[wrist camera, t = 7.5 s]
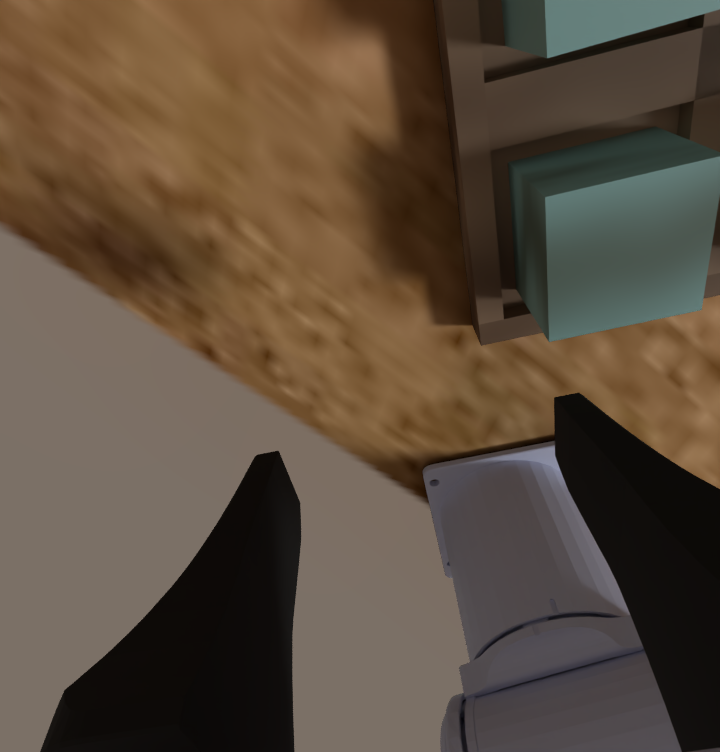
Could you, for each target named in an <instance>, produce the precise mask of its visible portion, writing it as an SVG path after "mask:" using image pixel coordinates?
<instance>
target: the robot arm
mask: <svg viewBox="0 0 720 752" xmlns="http://www.w3.org/2000/svg"><path fill="white" fill-rule="evenodd" d="M554 415H555V441H551V442H546V443H540V444H535V445H530V446H525V447H520V448H515V449H509V450H504V451H499V452H494V453H489V454H483V455H478V456H473V457H468V458H463V459H458V460H452V461H447V462H442V463H437V464H432V465H428V466H426V467H425V468H424V469H423V478H424V483H425V487H426V491H427V496H428V500H429V505H430V509H431V513H432V518H433V523H434V527H435V531H436V536H437V540H438V545H439V549H440V554H441V558H442V562H443V567H444V572H445V575H446V576H447V577H449V578H453V583H454V587H455V592H456V597H457V602H458V607H459V611H460V616H461V620H462V626H463V631H464V635H465V640H466V645H467V650H468V654H469V659H470V662H469V663H467V664H464V665H461V666H460V667H459V669H460V675H461V680H462V685H463V691H464V693H462V694H458V695H455V696H453V697H452V698H451V699H450V701H449V703H448V706H447V709H446V714H445V717H444V719H443V722H442V726H441V738H440V739H441V740H440V742H441V752H720V489H718V488H716V487H715V486H713V485H711V484H709V483H707V482H706V481H704V480H702V479H700V478H698V477H696V476H695V475H693V474H691V473H689V472H688V471H686V470H685V469H683V468H681V467H680V466H678V465H677V464H675V463H673V462H672V461H670V460H669V459H667V458H666V457H664V456H663V455H661V454H660V453H658V452H657V451H655V450H654V449H652V448H651V447H649V446H648V445H647V444H645V443H644V442H642V441H641V440H640V439H638V438H637V437H636V436H634V435H633V434H631V433H630V432H629V431H627V430H626V429H625V428H623V427H622V426H621V425H619V424H618V423H617V422H616V421H614V420H613V419H612V418H610V417H609V416H608V415H607V414H605V413H604V412H603V411H602V410H600V409H599V408H598V407H597V406H595V405H594V404H593V403H592V402H590V401H589V400H588V399H587V398H585V397H584V396H583V395H581V394H580V393H575V394H570V395H565V396H559V397H554ZM434 479H437V480H435V481H431V480H434ZM300 545H301V515H300V501H299V499H298V497H297V494H296V492H295V489H294V487H293V484H292V482H291V480H290V477H289V475H288V472H287V470H286V468H285V465H284V463H283V461H282V458H281V455H280V453H279V451H275V452H270V453H264V454H260V455H257V456H255V458H254V460H253V461H252V463H251V465H250V467H249V469H248V471H247V472H246V474H245V476H244V478H243V480H242V481H241V483H240V485H239V487H238V489H237V491H236V492H235V494H234V496H233V498H232V499H231V501H230V503H229V505H228V506H227V508H226V509H225V511H224V513H223V514H222V516H221V518H220V520H219V521H218V523H217V525H216V526H215V527H214V529H213V530H212V532H211V534H210V535H209V537H208V538H207V540H206V541H205V543H204V544H203V546H202V547H201V549H200V550H199V552H198V553H197V554H196V556H195V557H194V559H193V560H192V561H191V563H190V564H189V565H188V567H187V568H186V570H185V571H184V572H183V573H182V575H181V576H180V577H179V578H178V580H177V581H176V582H175V583H174V585H173V586H172V587H171V588H170V589H169V590H168V591H167V593H166V594H165V595H164V596H163V597H162V598H161V599H160V600H159V602H158V603H157V604H156V605H155V606H154V607H153V608H152V610H151V611H150V612H149V613H148V614H147V615H146V616H145V617H144V618H143V619H142V620H141V621H140V622H139V623H138V624H137V625H136V626H135V627H134V628H133V629H132V630H131V631H130V632H129V634H127V635H126V636H125V637H124V638H123V639H122V640H121V641H120V642H119V643H118V644H117V645H116V646H115V647H114V648H113V649H112V650H111V651H110V652H108V653H107V654H106V655H105V656H104V657H103V658H102V659H101V660H99V661H98V662H97V663H96V664H95V665H94V666H92V667H91V668H90V669H89V670H88V671H87V672H86V673H84V674H83V675H82V676H81V677H80V678H79V679H78V680H76V681H75V682H74V683H73V684H72V685H70V686H69V687H68V688H67V689H66V690H65V691H64V693H63V695H62V698H61V700H60V702H59V705H58V707H57V709H56V712H55V714H54V717H53V719H52V722H51V725H50V727H49V730H48V733H47V736H46V738H45V741H44V743H43V746H42V749H41V751H40V752H294V728H293V691H292V690H293V689H292V630H293V616H294V605H295V596H296V586H297V575H298V566H299V556H300Z"/></svg>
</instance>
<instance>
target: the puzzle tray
mask: <svg viewBox="0 0 720 752" xmlns="http://www.w3.org/2000/svg"><path fill="white" fill-rule="evenodd" d="M433 2H434V10H435V18H436V27H437V35H438V43H439V51H440V60H441V68H442V76H443V84H444V93H445V101H446V109H447V117H448V126H449V134H450V142H451V150H452V159H453V167H454V175H455V183H456V192H457V200H458V208H459V216H460V225H461V233H462V241H463V249H464V258H465V266H466V274H467V282H468V291H469V299H470V307H471V315H472V324H473V328H474V330H475V332H476V335H477V337H478V339H479V342H480V344H481V345H486V344H491V343H495V342H500V341H505V340H510V339H514V338H519V337H524V336H529V335H533V334H538V333H544V335H545V336H546V338H547V339H548V341H549V342H551V341H556V340H561V339H565V338H570V337H575V336H580V335H584V334H589V333H594V332H599V331H603V330H608V329H613V328H618V327H622V326H627V325H632V324H637V323H642V322H646V321H651V320H656V319H661V318H665V317H670V316H675V315H680V314H684V313H689V312H694V311H699V310H702V304H703V298H708V297H713V296H718V295H720V9H719V10H716V11H712V12H709V13H705V14H702V15H698V16H695V17H691V18H688V19H684V20H681V21H677V22H674V23H670V24H666V25H663V26H659V27H656V28H652V29H649V30H645V31H642V32H638V33H635V34H631V35H628V36H624V37H621V38H617V39H614V40H610V41H607V42H603V43H600V44H596V45H593V46H589V47H585V48H582V49H578V50H575V51H571V52H568V53H564V54H561V55H557V56H554V57H550V58H544V57H541V56H537V55H534V54H530V53H527V52H524V51H520V50H517V49H513V48H510V47H506V46H505V39H504V27H503V14H502V2H501V0H433Z"/></svg>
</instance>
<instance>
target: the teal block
mask: <svg viewBox="0 0 720 752" xmlns="http://www.w3.org/2000/svg"><path fill="white" fill-rule="evenodd" d="M501 2H502V14H503V27H504V39H505V46H506V47H510V48H513V49H517V50H520V51H524V52H527V53H530V54H534V55H537V56H541V57H544V58H550V57H554V56H557V55H561V54H564V53H568V52H571V51H575V50H578V49H582V48H585V47H589V46H593V45H596V44H600V43H603V42H607V41H610V40H614V39H617V38H621V37H624V36H628V35H631V34H635V33H638V32H642V31H645V30H649V29H652V28H656V27H659V26H663V25H666V24H670V23H674V22H677V21H681V20H684V19H688V18H691V17H695V16H698V15H702V14H705V13H709V12H712V11H716V10H719V9H720V0H501Z"/></svg>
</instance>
